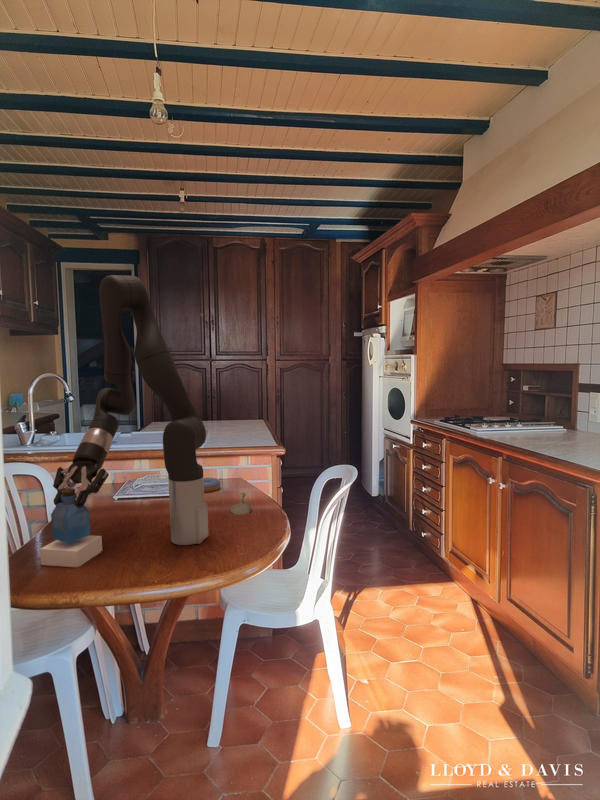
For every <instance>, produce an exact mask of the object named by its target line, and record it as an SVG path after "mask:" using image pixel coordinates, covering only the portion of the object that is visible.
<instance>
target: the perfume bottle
mask: <svg viewBox="0 0 600 800" xmlns="http://www.w3.org/2000/svg"><path fill="white" fill-rule="evenodd" d="M62 494H63V495H61V500H63V503H59V504H57V505H55V507H54V509H53V511H52V512H51V514H50V519H51V532H52V539H53V540H59V541H62V542H65V543H70V542H72V541H75V540H78V539H81V538H83V537H86V536H89V535H91V525H90V524H91V522H90V510H88V508H87V507H86V505H85V504H84V505H83V506H82V508H77V507H76V506H75V502H76V499H77V497H78V495H77V493H76V488H75V487H73V488H68V489H64V490H62Z"/></svg>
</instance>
